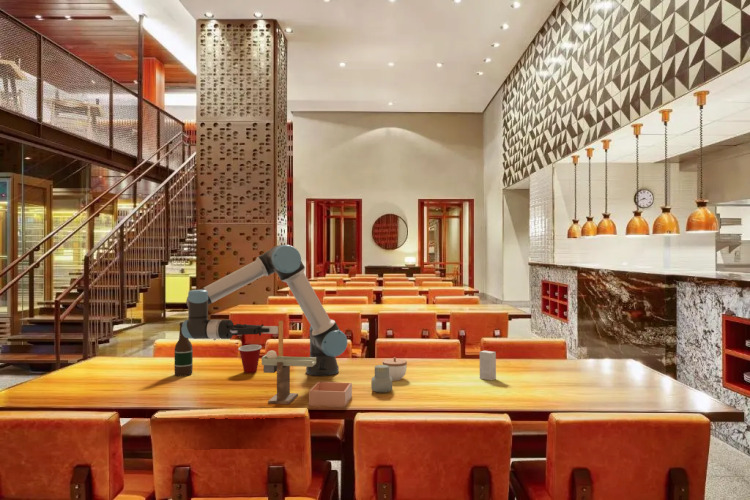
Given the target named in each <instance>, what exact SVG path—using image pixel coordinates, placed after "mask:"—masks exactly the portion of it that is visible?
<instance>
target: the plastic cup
mask: <svg viewBox="0 0 750 500" xmlns="http://www.w3.org/2000/svg"><path fill="white" fill-rule="evenodd" d="M262 348H263V347H262V345H261V344H247V345H241V346H240V347H238V351H239V354H240V358H241V359H240V360H241V364H242V367H243V368H242V369H243V372H244V373H245V374H254V373H257V371H258V366H259V361H260V355H261V354H260V353H261V350H262Z"/></svg>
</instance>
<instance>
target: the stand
mask: <svg viewBox="0 0 750 500" xmlns="http://www.w3.org/2000/svg"><path fill="white" fill-rule="evenodd" d="M290 386H291V366H283V362H277V371H276V394H274V395H273V396H272V397H271V398H270V399H268V401H267V403H268V404H271V405H272V404H273V405H274V404H276V405H280V404H281V405H290V404H291V403H292V402H293V401H294V400H295V399H297V398H298V395H299V393H298V392H296V393H294V392H291V387H290Z"/></svg>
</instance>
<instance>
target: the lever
mask: <svg viewBox="0 0 750 500" xmlns="http://www.w3.org/2000/svg"><path fill="white" fill-rule="evenodd" d="M278 326H279V333H278V342H277V343H278V347H277V348H278V349H277V351H278V353H277V358H276V359H267V358H266V354H265V355H264V354H263V356H261V366H263V374H264V373H269V374H274V373H277V362H283V366H290V367H304V368H305V367H313V366H314V365H315V364H316V357H310V356H286V355H285V356H284V320H278Z"/></svg>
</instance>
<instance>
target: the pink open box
mask: <svg viewBox="0 0 750 500" xmlns="http://www.w3.org/2000/svg"><path fill="white" fill-rule="evenodd" d="M352 397H353V383H352V382H343V381H342V382H339V381H337V382H335V381H317V382H316V383H315V384H314V385H313V386H312V387H310V389H309V390H308V406H309V407H321V406H327V407H329V408H346V407H347V406H348V404H349V402H350V401H351V399H352ZM327 407H326V408H327Z"/></svg>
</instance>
